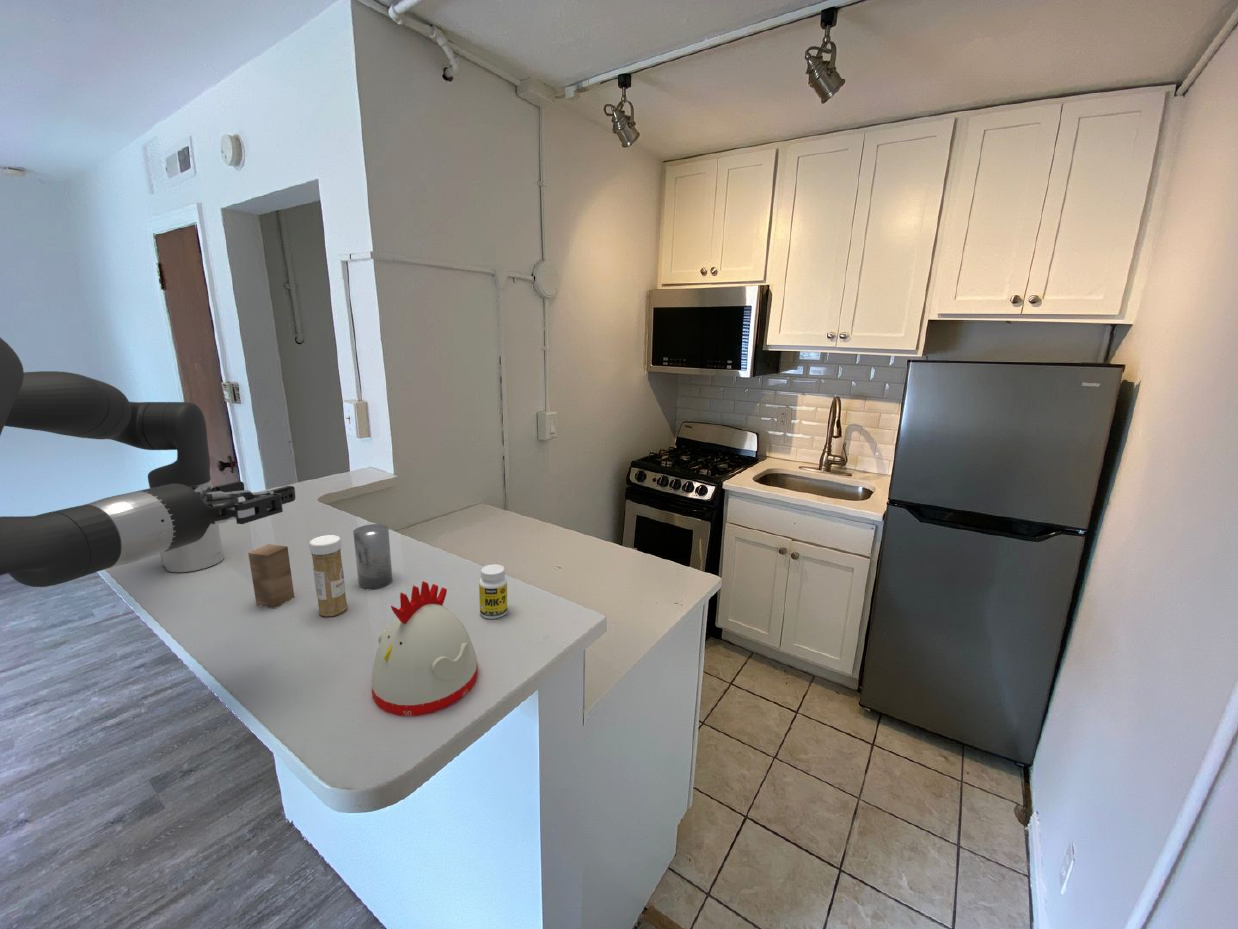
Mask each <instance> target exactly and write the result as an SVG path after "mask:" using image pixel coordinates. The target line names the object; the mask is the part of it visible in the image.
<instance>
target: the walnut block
mask: <svg viewBox="0 0 1238 929" xmlns="http://www.w3.org/2000/svg"><path fill="white" fill-rule="evenodd" d="M289 554H290V553H289V547H288V546H285V545H279V544H278V545H277V544H271V543H268V544H266V545H263V546H261V547H259V548H256V549H254V550H252V551H250V552H248V560H249V566H250V572H251V579H252V584H253V591H254V598H255V603H256V606H258V605H262V606H261V607H264V606H267V607H266V608H270V607H277V608H279V607H281V606H282V605H283V603H284V604H285V602H286V601H287V602H289V601H291V600H292V598H293V599H294V598H295V592H294V584H293V577H292V576H293V575H292V569H291V563H290V555H289ZM287 602H286V603H287ZM278 606H279V607H278Z"/></svg>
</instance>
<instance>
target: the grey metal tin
mask: <svg viewBox="0 0 1238 929" xmlns="http://www.w3.org/2000/svg"><path fill="white" fill-rule="evenodd" d="M352 532H353V533H352V535H353V542H354V553H355V561H356V571H357V573H356V574H357V581H358V588H360V589H362V590H366V589H373V590H379V589H382V588H385V587H387V586H389V585H390V584H392V582H393V570H392V569H393V568H392V556H391V547H390V546H391V545H390V544H391V543H390V532H389V526H388V525H386V524H382V523H380V524H379V523H373V524H365V525H362V526H359V527H357V528H355V529H354V530H352Z"/></svg>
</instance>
